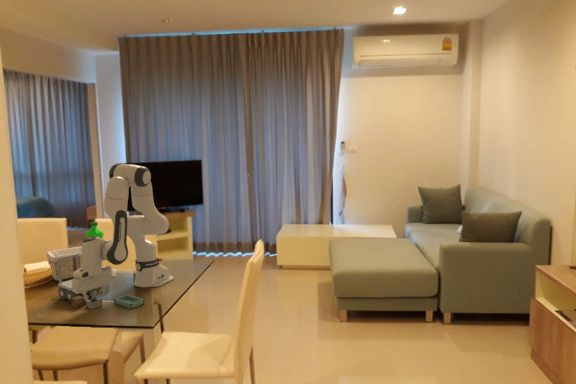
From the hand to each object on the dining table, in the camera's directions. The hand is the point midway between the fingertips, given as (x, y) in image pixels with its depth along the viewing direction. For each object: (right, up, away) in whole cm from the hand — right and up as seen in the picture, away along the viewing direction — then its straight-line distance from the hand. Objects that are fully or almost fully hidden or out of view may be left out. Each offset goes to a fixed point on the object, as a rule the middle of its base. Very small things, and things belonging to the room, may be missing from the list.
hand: (94, 297), depth 236 cm
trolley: (-8, -4, +8) cm, 12 cm away
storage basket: (-33, +2, +50) cm, 60 cm away
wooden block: (-16, -1, +28) cm, 32 cm away
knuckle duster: (-15, +1, +46) cm, 48 cm away
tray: (+16, -4, +4) cm, 17 cm away
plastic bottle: (-31, +7, +81) cm, 87 cm away
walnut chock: (-8, -5, +1) cm, 10 cm away
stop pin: (0, -5, +1) cm, 5 cm away
